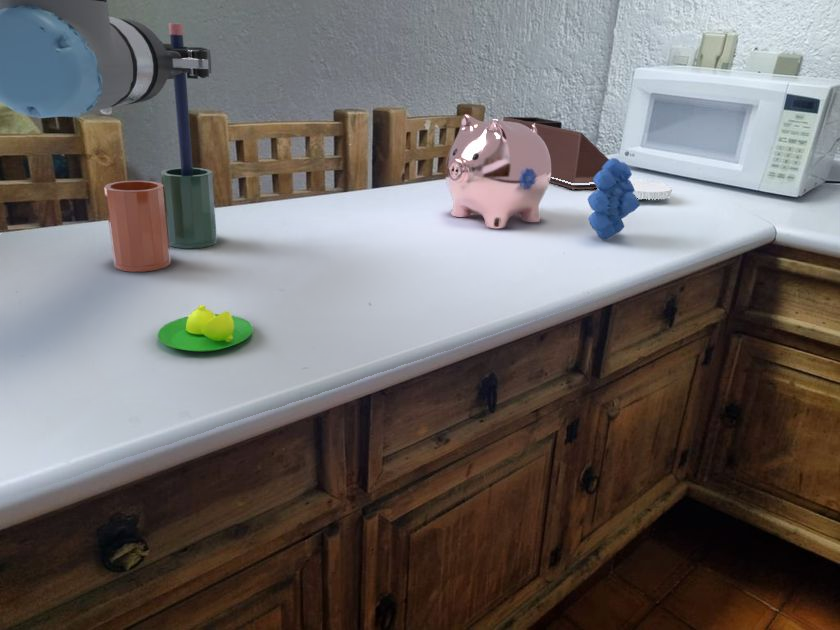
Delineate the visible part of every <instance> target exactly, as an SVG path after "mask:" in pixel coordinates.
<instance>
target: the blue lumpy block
mask: <svg viewBox="0 0 840 630" xmlns="http://www.w3.org/2000/svg"><path fill="white" fill-rule="evenodd" d="M602 169H603V170H601V171H599V172H598V173H597V174H596V175H595V176H594V178H593V181H594V183H595V185H596V187H597V189H599V190H597V189H596V190H595V191H593V192H592V193H591V194H590V195H589V196H588V197H587V202H588V205H589V207H590V209H591V210H592V211H594V212H592V213H591V214H590V215H589V216H588V217H587V219H588V222H589V225H590V226H591V228H592V229H593V230H594V231H595V232H596V235H597V236H598V238H599V239H601V240H608V239H610V238H612V237H613V236H614V235H616V234H618V233H620V232H621V231H622V230H623V229H624V228H625V224H624V222H623V220H622V219H624V218H625V217H627V216H629V215H630V214H632V213H634V212H635V211H636V210H637V209H638V208H639V207H640V202H639V199H637V198H636V196H635V195H634V194H633V192H634V191H635V190H634V187H633V185H632V183H631V181H630V180H629V178H631V177H632V175H633V174H632V170H631V169H630V167H629V166H628V164H627V163H625V162H624V161H620V160H619V159H618V158H615V157H612V158H610V159H609V160H608V161H607V162H606V163H605V164H604V165H603V167H602Z"/></svg>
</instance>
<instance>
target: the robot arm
mask: <svg viewBox="0 0 840 630" xmlns="http://www.w3.org/2000/svg"><path fill="white" fill-rule="evenodd" d="M109 11H110V10H109V4H108V1H107V0H0V103H1V104H3V105H4V106H6V107H7V108H9V109H10V110H12V111H14V112H16V113H19V114H22V115H23V116H26V117H27V116H28V117H32V118H37V119H47V118H49V119H50V118H57V117H59V118H60V117H63V118H64V117H65V118H67V117H68V118H75V117H76V118H77V117H80V116H81V115H85V114H87V113H91V112H95V111H100V113H101V114H102V115H106V116H109V115H112V114H113V108H114V107H120V106H125V105H132V104H138V103H142V102H147V101H150V100H151V99H153V98H154V97H155V96H157V95H158V94H160V92H161V91H162V90H163V88H164V86H165V85H166V83H167V81H168V80H174V78H175V76H176V75H179V74H180V73H186V79H193V80H194V79H196V80H199V77H200V79H206V78H209V77H210V74H212V59H211V57H212V56H211V50H210V49H208V48H204V47H200V46H199V47H196V46H195V47H194V46H184V47H181V49H174V48H173V45H172V44H171V43H163V42H162V40H161V39H160V38H159V37H158V35H156V33H155V32H154V31H152V30H151V29H150V28H149V27H148V26H146V24H145V25H144V24H143V23H141V22H138V21H136V20H133V19H130V18H129V19H128V18H123V17H114V16H110V12H109Z"/></svg>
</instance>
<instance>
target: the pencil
mask: <svg viewBox="0 0 840 630" xmlns="http://www.w3.org/2000/svg"><path fill="white" fill-rule="evenodd" d="M168 29H169V39H170V40H169V41H170V44H172V45H173V48H174V49H181V47H185V45H184V29H183V23H174V22H173V23H172V22H171V23H168ZM187 84H188V83H187V73H180V74H179V75H176V76H175V78H174V79H173V89H174V90H173V91H174V100H175V113H176V124H177V138H178V150H179V151H178V152H179V161H180V163H179V164H180V168H181V175H182V176H191V175H193V168H194V167H193V166H194V165H193V153H192V152H193V151H192V138H191V137H192V136H191V125H190V111H189V99H188V97H189V96H188V85H187Z"/></svg>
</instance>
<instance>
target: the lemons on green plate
mask: <svg viewBox="0 0 840 630" xmlns="http://www.w3.org/2000/svg"><path fill="white" fill-rule="evenodd" d="M253 327H254V326H253V325H252V324H251V322H249V321H248V320H246V319H244V318H242V317H238V316H235V315H232V314H231V313H230V311H229V310H226V311H223V312H221V313H214V312H213V310H210V309H208V308H207V307H206V306H205V305H204V304H200V305H198V306H197V308H195V310H193V311H192V312H191V313H190V314H189V315H188V316H185V317H182V318H178V319H174V320H172V321H170V322H168V323H166V324H165V325H163V326H162V327H161V328H159V330H158V332H157V338H158V340H159V341H160V342H161V344H163V345H164V346H167V347H170V348H173V349H178V350H182V351H185V352H186V351H187V352H193V353H195V352H197V353H205V352H216V351H220V350H225V349H227V348H230V347H232V346H235V345H237V344H238V345H239V344H240V343H241V342H245V340H247V339H248V338H250V336H251V335H252V334H253V332H254V328H253Z"/></svg>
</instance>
